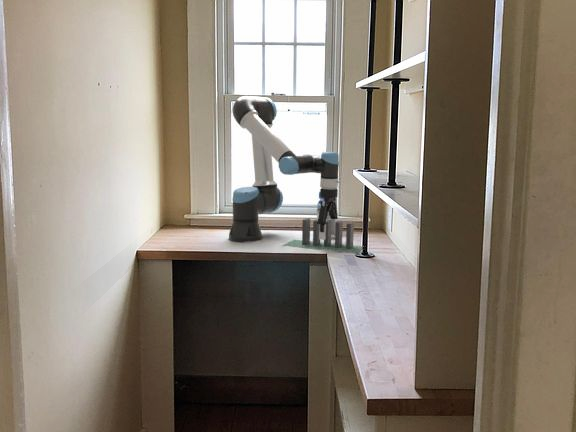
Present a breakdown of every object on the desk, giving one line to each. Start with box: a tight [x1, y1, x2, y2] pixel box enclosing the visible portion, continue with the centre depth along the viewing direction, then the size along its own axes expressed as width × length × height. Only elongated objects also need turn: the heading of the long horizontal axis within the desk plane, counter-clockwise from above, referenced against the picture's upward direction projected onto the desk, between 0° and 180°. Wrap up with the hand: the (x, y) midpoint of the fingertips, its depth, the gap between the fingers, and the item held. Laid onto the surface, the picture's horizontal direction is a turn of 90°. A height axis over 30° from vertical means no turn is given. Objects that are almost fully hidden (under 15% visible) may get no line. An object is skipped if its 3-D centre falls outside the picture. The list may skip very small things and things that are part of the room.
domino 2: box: [312, 218, 321, 246], centre depth 260 cm, size 2×5×11 cm, turn 158°
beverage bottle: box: [316, 191, 331, 221], centre depth 289 cm, size 8×8×20 cm
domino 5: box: [345, 221, 355, 249], centre depth 255 cm, size 2×5×11 cm, turn 158°
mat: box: [282, 239, 363, 255], centre depth 259 cm, size 34×14×1 cm, turn 68°
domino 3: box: [323, 220, 332, 247], centre depth 259 cm, size 2×5×11 cm, turn 158°
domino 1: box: [301, 217, 311, 245], centre depth 262 cm, size 2×5×11 cm, turn 158°
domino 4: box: [334, 220, 344, 248], centre depth 257 cm, size 2×5×11 cm, turn 158°
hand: (327, 236), depth 259 cm, fingers open, 13 cm apart
